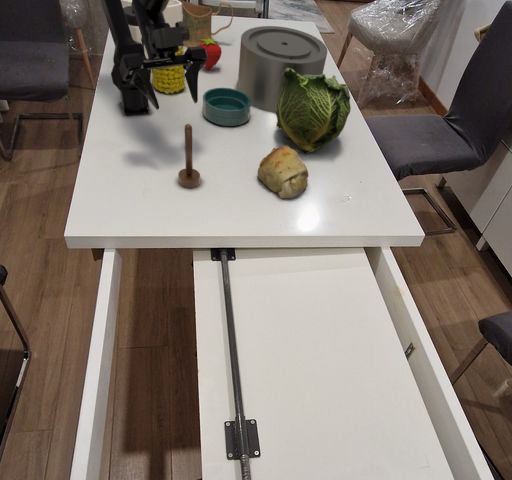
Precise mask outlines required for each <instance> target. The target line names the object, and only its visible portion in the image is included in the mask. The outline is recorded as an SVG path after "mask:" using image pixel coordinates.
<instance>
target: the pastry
mask: <svg viewBox="0 0 512 480" xmlns="http://www.w3.org/2000/svg"><path fill="white" fill-rule="evenodd" d="M257 176H258V179H259V180H260V181H261V182H262V184H263V185H264V186H265V187H266V188H268V189H269V190H270V191H272V192H273V193H275V194H277V195H278V197H279V198H280V199H282V200H283V199H291V198H294V197H297V196H298V195H301V194H302V193H303V192H304V191H306V188H307V186H308V181H309V180H308V177H309V170H308V168H307V165H306V164H305V162H304V161H302V158H300V156H299V155H298V152H297V151H295V149H292V148H290V147H289V145H283V146H280V147H277V148H276V147H274V148H273V149H271V151H270V153H268V154H267V155H266V156H264V157H263V158H262V159H261V161H260V163H259V166H258V168H257Z"/></svg>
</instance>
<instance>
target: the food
mask: <svg viewBox="0 0 512 480" xmlns="http://www.w3.org/2000/svg"><path fill="white" fill-rule="evenodd" d="M178 47H179V50H178V52H175V55H184V53H185V51H184V49H185V48H184V46H178ZM185 73H186V70H185V69H184V68H183V66H175V67H168V68H160V69H152V70H151V78H152V86H153V88H155V89H156V90H157V91H159V92H160V93H164V94H166V95H169V94H174V93H175V92H176V93H179V91H181V90H183V89H185V86H186V83H185V82H186V78H185V75H184V74H185Z"/></svg>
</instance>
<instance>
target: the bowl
mask: <svg viewBox="0 0 512 480" xmlns="http://www.w3.org/2000/svg"><path fill="white" fill-rule="evenodd" d="M251 107H252V105H251V100H250V98H249V97H248V96H247V95H246V94H245V93H243V92H241V91H238V90H237V89H235V88H230V87H214V88H211V89H208V90H206V91H205V92H204V93H203V95H202V115H203V116H204V118H205V119H207V120H208V121H210V122H212V123H213V124H216V125H218V126H224V127H236V126H240V125H243V124H245V123H247V122H248V121H249V120H250V118H251V117H250V116H251V109H252V108H251Z"/></svg>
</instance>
